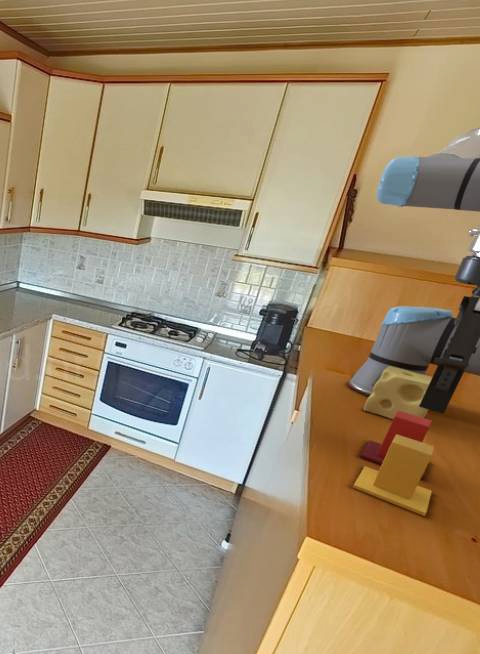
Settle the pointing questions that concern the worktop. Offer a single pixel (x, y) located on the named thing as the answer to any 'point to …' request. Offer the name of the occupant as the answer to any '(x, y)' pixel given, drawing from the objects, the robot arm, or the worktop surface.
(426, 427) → the red block
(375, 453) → the red mat
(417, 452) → the yellow block
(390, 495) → the yellow mat
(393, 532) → the worktop surface
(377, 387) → the cheese
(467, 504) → the worktop surface
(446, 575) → the worktop surface
